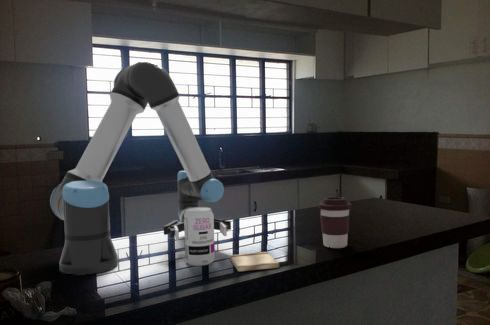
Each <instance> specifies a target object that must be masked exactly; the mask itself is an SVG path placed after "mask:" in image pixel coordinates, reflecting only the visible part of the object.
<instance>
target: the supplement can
mask: <svg viewBox="0 0 490 325" xmlns="http://www.w3.org/2000/svg"><path fill="white" fill-rule="evenodd" d="M214 217H215V215H214V213H213V211H212V208H211V207H208V206H200V207H194V208H188V209H186V212H185V214H184V231H183V232H184V254H185V258H184V260H185V262H186V263H187V264H188V265H190V266H194V267H197V266H198V267H201V266H208V265H211V264H212V263H213V262H214V261H215V259H216V258H215V257H216V256H215V254H216V253H215V251H216V250H215V248H216V247H215V229H214Z"/></svg>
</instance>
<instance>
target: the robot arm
mask: <svg viewBox="0 0 490 325" xmlns="http://www.w3.org/2000/svg"><path fill="white" fill-rule="evenodd" d="M109 96H110V97H109V98H110V100H111V102H110V104H109V106H108V108H107V109H106V111H105V113H104V115H103V116H102V119H101V121H100V123H99V124H98V126H97V128H96V130H95V131H94V134H93V136H92V137H91V139H90V141H89V143H88V144H87V147H86V148H85V150H84V152H83V154H82V156H81V158H80V159H79V161H78V163H77V165H76V166H75V168H73V169H71V170H68V171H67V172H66V174H65V175H64V178H63V179H62V181H61V183H60V184H58V185H57V186H56V187H55V188H54V189H53V190H52V193H51V195H50V199H49V202H50V203H49V204H50V208H51V210H52V212H53V213H54V215H55V216H56V217H57V218H58V219H60V220H62V221H63V223H64V224H63V225H64V246H63V249H62V252H61V256H60V260H59V263H58V264H59V265H58V267H59V268H58V269H59V272H60V271H61V272H63V273H66V274H76V275H75V276H87V275H86V274H89V275H95V274H99V273H104V272H107V271H110V270H112V269H114V268H116V267H117V266H118V265H119V256H118V253H117V250H116V248H115V245H114V243H113V240H112V238H111V222H110V221H111V220H110V194H109V189H108V188H109V187H108V186H107V184H106V183H104V182H103V180H104V178H105V176H106V174H107V172H108V170H109V168H110V166H111V164H112V162H113V161H114V159H115V157H116V155H117V153H118V151H119V149H120V147H121V146H122V143H123V141H124V139H125V137H126V135H127V133H128V132H129V130H130V127H131V126H132V125H133V122H134V120H135V119H136V116H137V115H138V114H142V113H144V111H145V109H146V108H147V105H148V106H149V108H150V109H151V110H153V111H154V112H155V111H156V114H157V116H158V119H159V120H160V122H161V124H162V126H163V129H164V130H165V132H166V135H167V137H168V139H169V141H170V144H171V146H172V148H173V150H174V151H175V153H176V155H177V157H178V159H179V162H180V164H181V166H182V168H183V170H179V171H178V172H177V181H176V183H177V196H178V197H177V198H178V200H177V201H178V202H177V206H178V209H177V217H178V219H173V220H172V221H171V222H168V223H167V224H165V225H163V235H165V236H167V235H169V237H170V238H174V237H175V240H176V241H179V240H180V236H179V235H180V233H181V232H184V214H185V212H186V209H188V208H194V207H201V206H200V202H201V201H203V202H204V203H205V202H206V203H216V202H218V201H219V200H221V199H222V197H223V195H224V192H225V190H224V184H223V183H222V182H221V181H220V180H219V179H216V178H214V175H213V173H212V171H211V168H210V167H209V165H208V164H209V163H207V161H206V159H205V156H204V154H203V152H202V150H201V147H200V145H199V143H198V141H197V138H196V136H195V134H194V132H193V130H192V127H191V126H190V123H189V121H188V118H187V117H186V115H185V112H184V110H183V108H182V106H181V104H180V101H179V100H180V97H181V96H180V93H179V91H178V89H177V86H176V85H175V82H174V80H173V79H172V78H171V76H170V75H169V72H168V71H167V70H166V68H164V66H162V65H161V64H160V63H158V62H155V61H153V60H149V59H147V60H146V59H145V60H141V61H138V62H136V63H134V64H131V65H127V66H126V67H124V68H122V69H121V70H120V71H119V72H118V73H117V74H116V75H115V78H114V81H113V87H112V90H111V92H110V93H109ZM216 230H217V231H219V232H220V234H222V236H224V237H227V236H228V233H227V232H228V231H231V230H232V221H230V220H227V219H222V218H217V217H215V216H214V231H216ZM61 272H60V273H61ZM63 273H62V274H63ZM94 273H95V274H94ZM66 274H65V275H66Z"/></svg>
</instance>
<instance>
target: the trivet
mask: <svg viewBox="0 0 490 325" xmlns="http://www.w3.org/2000/svg"><path fill="white" fill-rule="evenodd" d="M229 259H230V261H231V263H232V264H233V266H234V267H235V268H236V270H237V272H246V271H247V272H248V271H256V270H257V271H258V270H268V269H278V268H280V262H279V261H277V260H276V259H275V258H273V257H272V256H271V255H270V253H269V252H268V251H260V252H250V253H249V252H248V253H242V254H239V253H238V254H230V256H229Z"/></svg>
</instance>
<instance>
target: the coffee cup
mask: <svg viewBox="0 0 490 325" xmlns="http://www.w3.org/2000/svg"><path fill="white" fill-rule="evenodd" d="M318 209H319V210H320V215H319V217H320V228H321V233H322V242H323V246H324V247H327V248H329V247H330V248H331V249H342V248H346V247H347V246H348V238H349V237H348V234H349V229H350V227H349V226H350V210H351V209H352V203H351V202H349V201H347V199H346V198H345V197H341V196H327V197H324V198H323V199H322V200H321V202H319V203H318Z"/></svg>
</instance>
